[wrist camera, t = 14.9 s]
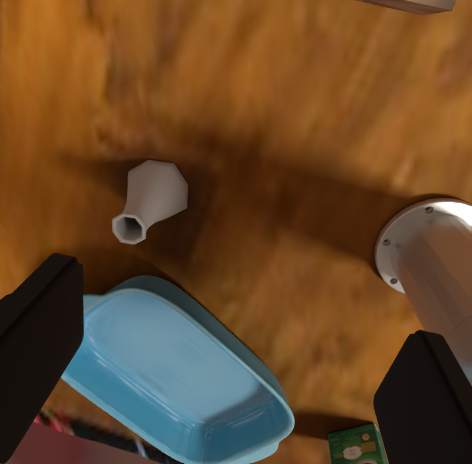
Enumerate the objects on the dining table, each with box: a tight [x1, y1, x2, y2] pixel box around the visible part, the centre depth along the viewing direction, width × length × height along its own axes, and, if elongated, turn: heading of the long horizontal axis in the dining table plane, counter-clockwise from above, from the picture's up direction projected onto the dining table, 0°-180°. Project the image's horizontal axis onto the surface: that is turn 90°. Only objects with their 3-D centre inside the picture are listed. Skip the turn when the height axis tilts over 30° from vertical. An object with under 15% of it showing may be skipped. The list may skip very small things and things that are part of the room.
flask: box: [112, 160, 188, 244], centre depth 37 cm, size 7×7×10 cm
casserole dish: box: [61, 275, 295, 464], centre depth 51 cm, size 37×22×7 cm, turn 41°
